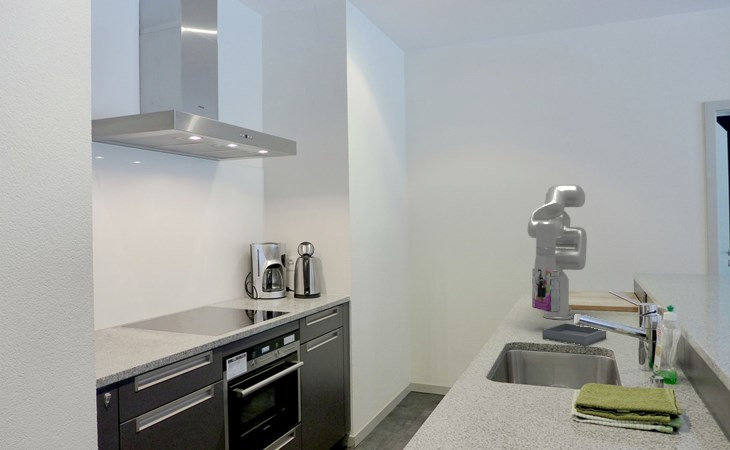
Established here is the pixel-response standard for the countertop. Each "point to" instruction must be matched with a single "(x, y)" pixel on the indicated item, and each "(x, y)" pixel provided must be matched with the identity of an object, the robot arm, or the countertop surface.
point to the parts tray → (574, 334)
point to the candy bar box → (548, 293)
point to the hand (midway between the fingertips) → (545, 295)
